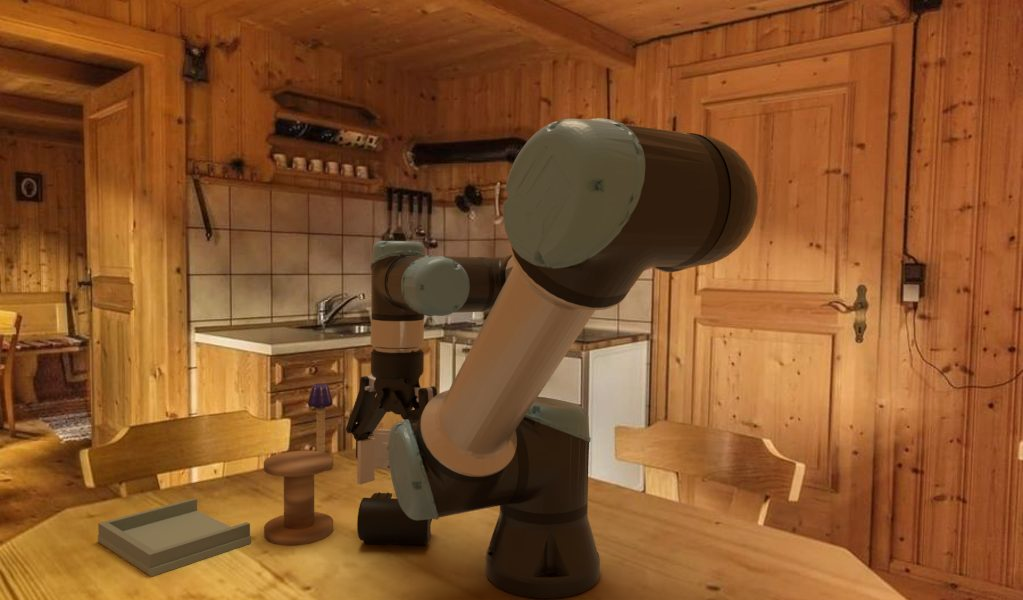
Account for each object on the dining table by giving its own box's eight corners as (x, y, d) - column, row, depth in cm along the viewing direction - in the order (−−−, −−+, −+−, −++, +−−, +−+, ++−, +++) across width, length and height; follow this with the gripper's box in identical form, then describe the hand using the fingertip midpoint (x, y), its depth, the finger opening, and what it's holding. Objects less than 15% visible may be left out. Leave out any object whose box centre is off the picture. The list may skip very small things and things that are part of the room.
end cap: (356, 552, 98) (356, 505, 97) (368, 532, 105) (368, 488, 105) (427, 554, 98) (427, 506, 97) (434, 534, 105) (434, 490, 104)
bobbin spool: (347, 530, 105) (347, 459, 105) (289, 551, 98) (288, 474, 97) (307, 514, 112) (307, 447, 111) (250, 532, 104) (250, 460, 103)
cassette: (372, 469, 136) (372, 430, 136) (375, 466, 138) (375, 428, 138) (433, 471, 136) (433, 432, 135) (434, 468, 137) (435, 430, 137)
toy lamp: (335, 470, 135) (335, 385, 134) (311, 473, 133) (311, 387, 132) (328, 463, 139) (328, 381, 138) (305, 467, 137) (304, 383, 136)
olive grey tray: (251, 543, 100) (251, 524, 100) (151, 576, 89) (150, 555, 89) (193, 514, 111) (193, 497, 111) (97, 541, 100) (97, 522, 100)
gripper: (479, 355, 95) (476, 506, 96) (362, 337, 110) (361, 468, 112) (441, 361, 89) (438, 522, 90) (323, 341, 105) (322, 479, 106)
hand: (396, 492), depth 101 cm, fingers open, 13 cm apart
